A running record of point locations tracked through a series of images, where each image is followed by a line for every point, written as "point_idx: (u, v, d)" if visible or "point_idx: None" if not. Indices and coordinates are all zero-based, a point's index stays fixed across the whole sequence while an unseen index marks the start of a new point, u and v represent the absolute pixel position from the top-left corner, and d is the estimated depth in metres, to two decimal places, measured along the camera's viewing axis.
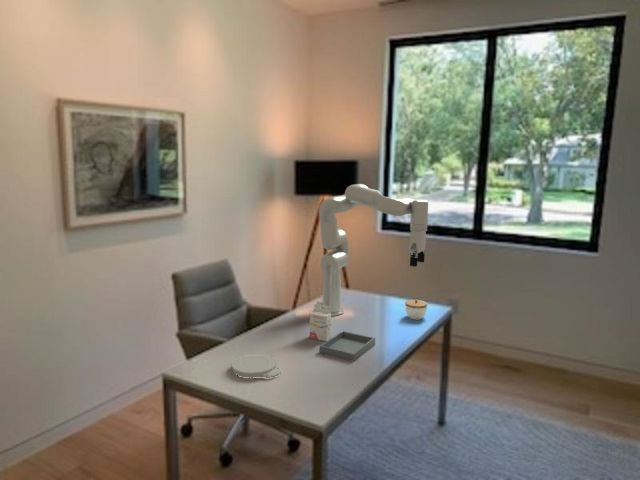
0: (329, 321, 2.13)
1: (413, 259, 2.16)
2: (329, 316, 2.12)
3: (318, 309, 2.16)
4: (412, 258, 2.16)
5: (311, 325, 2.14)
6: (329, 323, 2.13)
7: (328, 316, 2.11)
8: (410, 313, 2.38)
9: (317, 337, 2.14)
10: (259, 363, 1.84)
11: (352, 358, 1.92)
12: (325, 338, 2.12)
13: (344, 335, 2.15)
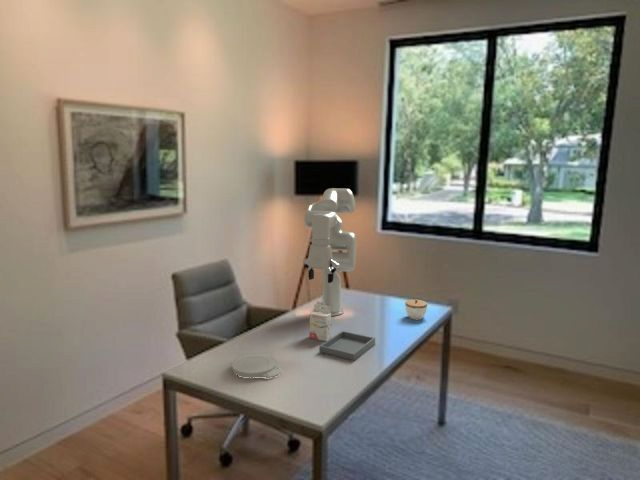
0: (329, 321, 2.13)
1: (332, 275, 2.07)
2: (329, 316, 2.12)
3: (318, 309, 2.16)
4: (332, 274, 2.07)
5: (311, 325, 2.14)
6: (329, 323, 2.13)
7: (328, 316, 2.11)
8: (410, 313, 2.38)
9: (317, 337, 2.14)
10: (259, 363, 1.84)
11: (352, 358, 1.92)
12: (325, 338, 2.12)
13: (344, 335, 2.15)
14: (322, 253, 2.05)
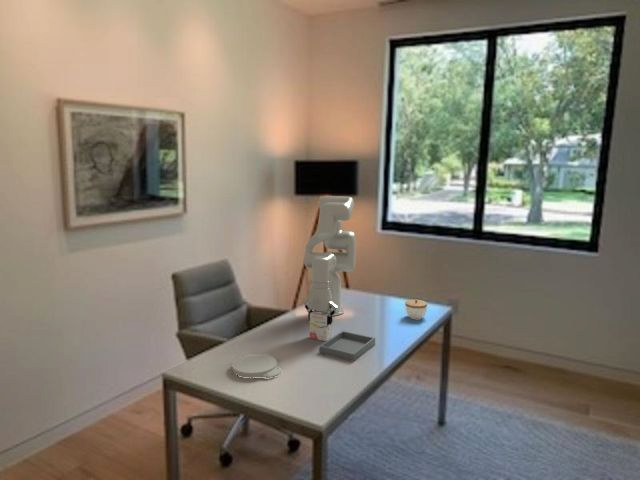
0: None
1: (331, 317, 2.11)
2: None
3: None
4: (331, 316, 2.10)
5: (311, 325, 2.14)
6: None
7: None
8: (410, 313, 2.38)
9: (317, 337, 2.14)
10: (259, 363, 1.84)
11: (352, 358, 1.92)
12: (325, 338, 2.12)
13: (344, 335, 2.15)
14: (321, 296, 2.08)
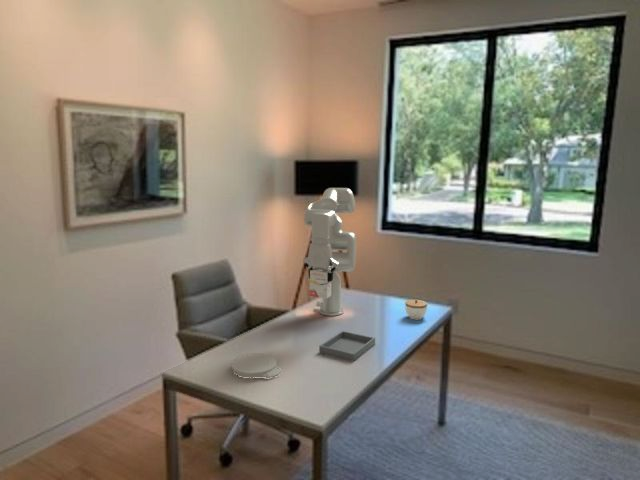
0: None
1: (332, 274, 2.08)
2: None
3: None
4: (331, 273, 2.07)
5: (311, 282, 2.11)
6: None
7: None
8: (410, 313, 2.38)
9: (317, 295, 2.11)
10: (259, 363, 1.84)
11: (352, 358, 1.92)
12: (325, 295, 2.09)
13: (344, 335, 2.15)
14: (322, 252, 2.05)
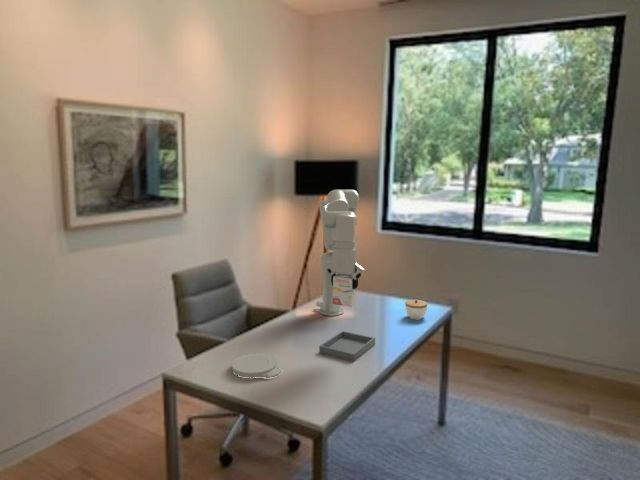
0: None
1: (357, 280, 1.93)
2: None
3: None
4: (357, 279, 1.92)
5: (334, 289, 1.95)
6: None
7: None
8: (410, 313, 2.38)
9: (341, 303, 1.95)
10: (259, 363, 1.84)
11: (352, 358, 1.92)
12: (350, 304, 1.94)
13: (344, 335, 2.15)
14: (346, 257, 1.90)
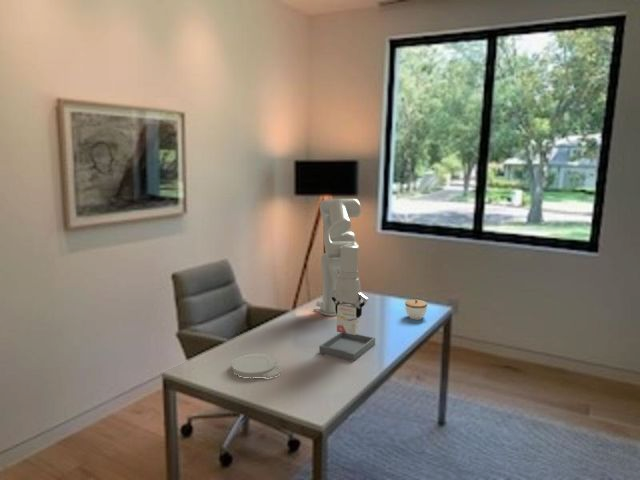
0: None
1: (361, 309, 1.98)
2: None
3: None
4: (360, 308, 1.98)
5: (339, 317, 2.01)
6: None
7: None
8: (410, 313, 2.38)
9: (345, 331, 2.01)
10: (259, 363, 1.84)
11: (352, 358, 1.92)
12: (354, 332, 1.99)
13: (344, 335, 2.15)
14: (350, 287, 1.96)
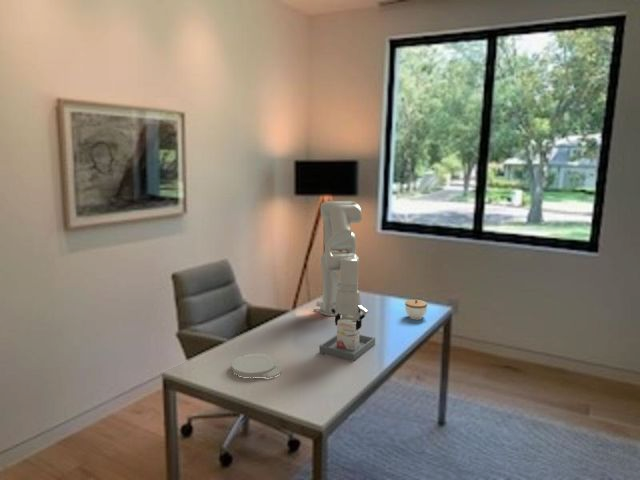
0: (358, 329, 2.01)
1: (361, 321, 1.99)
2: None
3: (346, 316, 2.05)
4: (360, 321, 1.99)
5: (339, 333, 2.02)
6: (358, 331, 2.02)
7: None
8: (410, 313, 2.38)
9: (345, 346, 2.02)
10: (259, 363, 1.84)
11: (352, 358, 1.92)
12: (353, 347, 2.01)
13: None
14: (350, 299, 1.97)
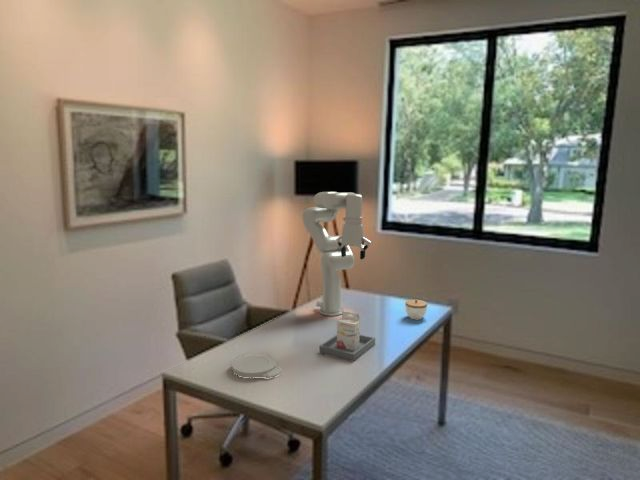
0: (358, 329, 2.01)
1: (364, 251, 2.21)
2: (358, 324, 2.01)
3: (346, 316, 2.05)
4: (364, 251, 2.21)
5: (339, 333, 2.02)
6: (358, 331, 2.01)
7: (357, 324, 2.00)
8: (410, 313, 2.38)
9: (345, 346, 2.02)
10: (259, 363, 1.84)
11: (352, 358, 1.92)
12: (353, 347, 2.00)
13: None
14: (355, 231, 2.19)
